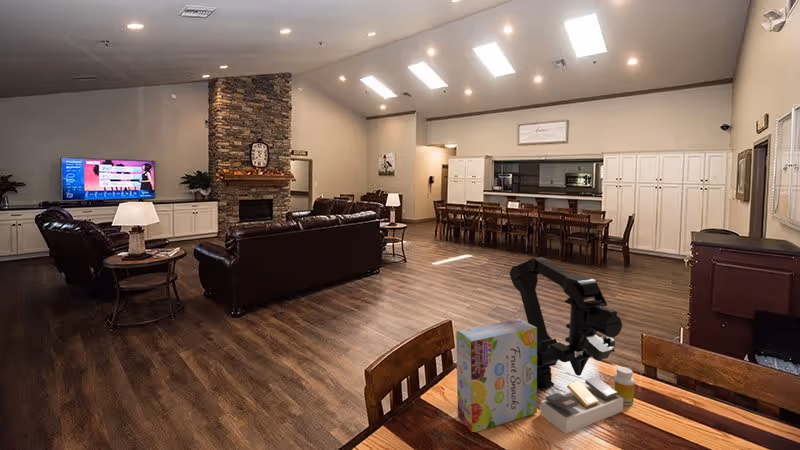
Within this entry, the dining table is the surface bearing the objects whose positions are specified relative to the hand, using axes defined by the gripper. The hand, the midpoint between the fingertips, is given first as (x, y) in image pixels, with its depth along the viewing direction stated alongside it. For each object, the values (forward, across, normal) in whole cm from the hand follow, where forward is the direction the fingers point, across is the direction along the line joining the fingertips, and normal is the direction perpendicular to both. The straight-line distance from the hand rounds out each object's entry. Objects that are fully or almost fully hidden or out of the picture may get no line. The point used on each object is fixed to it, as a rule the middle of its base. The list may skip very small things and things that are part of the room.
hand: (577, 374), depth 106 cm
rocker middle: (+5, 0, -2) cm, 5 cm away
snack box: (+11, -22, +8) cm, 26 cm away
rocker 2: (+5, +7, -2) cm, 9 cm away
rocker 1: (+5, -8, -2) cm, 10 cm away
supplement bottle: (+11, +16, -3) cm, 19 cm away
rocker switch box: (+10, 0, -2) cm, 11 cm away
